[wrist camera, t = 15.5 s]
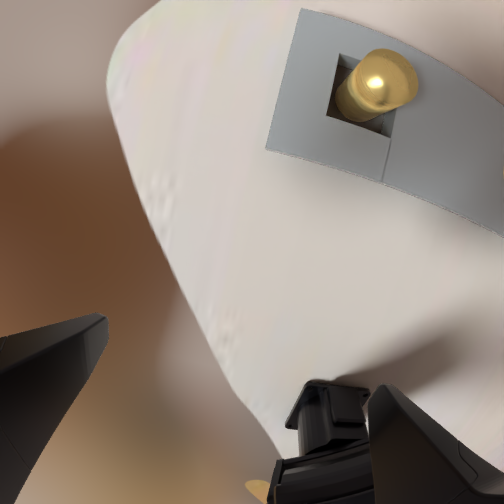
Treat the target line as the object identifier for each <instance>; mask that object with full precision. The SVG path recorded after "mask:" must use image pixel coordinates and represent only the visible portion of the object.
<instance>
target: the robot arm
mask: <svg viewBox="0 0 504 504" xmlns="http://www.w3.org/2000/svg"><path fill="white" fill-rule="evenodd" d="M108 329H109V327H108V318H107V317H106V316H104V315H102V314H99V313H93V314H89V315H85V316H82V317H78V318H74V319H70V320H67V321H63V322H59V323H56V324H52V325H48V326H44V327H40V328H36V329H32V330H29V331H25V332H21V333H17V334H13V335H9V336H8V337H6V336H5V337H1V338H0V504H14V503H15V501H16V499H17V497H18V495H19V493H20V491H21V489H22V487H23V485H24V484H25V482H26V480H27V478H28V476H29V474H30V473H31V470H32V469H33V467H34V465H35V463H36V462H37V460H38V458H39V456H40V455H41V453H42V451H43V449H44V448H45V446H46V445H47V443H48V441H49V440H50V438H51V436H52V434H53V433H54V431H55V430H56V428H57V427H58V425H59V423H60V422H61V420H62V418H63V417H64V415H65V414H66V412H67V411H68V409H69V408H70V406H71V405H72V403H73V401H74V400H75V399H76V397H77V395H78V394H79V392H80V391H81V389H82V388H83V386H84V385H85V384H86V382H87V380H88V379H89V377H90V375H91V373H92V372H93V370H94V368H95V366H96V364H97V362H98V360H99V358H100V356H101V354H102V352H103V350H104V349H105V347H106V345H107V343H108V339H109V332H108V331H109V330H108ZM309 387H312V388H309ZM365 393H366V394H365ZM370 394H371V393H370V390H369V389H365V388H354V387H344V386H336V385H327V384H320V383H313V382H309V383H306V384H305V385H304V387H303V389H302V391H301V393H300V395H299V397H298V399H297V401H296V403H295V405H294V407H293V409H292V411H291V413H290V415H289V416H288V418H287V420H286V422H285V427H286V428H287V429H294V430H298V441H299V457H295V458H290V459H285V460H284V459H280V460H277V462H276V466H275V468H274V472H273V476H272V480H271V484H270V488H269V492H268V496H267V504H504V473H503V472H501V471H500V470H498V469H497V468H495V467H494V466H492V465H491V464H490V463H488V462H487V461H485V460H484V459H482V458H481V457H479V456H478V455H477V454H475V453H474V452H473V451H471V450H470V449H469V448H468V447H466V446H465V445H464V444H463V443H461V442H460V441H459V440H458V441H457V439H456V438H455V437H454V436H453V435H452V434H450V433H449V432H448V431H447V430H446V429H444V428H443V427H442V426H441V425H440V424H438V423H437V422H436V421H435V420H434V419H432V418H431V417H430V416H429V415H428V414H426V413H425V412H424V411H423V410H422V409H421V408H419V407H418V406H417V405H416V404H415V403H413V402H412V401H411V400H410V399H409V398H407V397H406V396H405V395H404V394H403V393H402V392H400V391H399V390H398V389H397V388H396V387H394V386H393V385H392V384H384V383H382V384H380V385H379V386H378V387H377V389H376V391H375V392H374V394H373V395H372V397H371V398H370V400H369V402H368V427H369V434H368V431H367V427H366V424H365V422H366V418H365V415H364V411H363V408H362V407H363V405H364V404H365V402H366V401H367V399H368V398H369V396H370Z"/></svg>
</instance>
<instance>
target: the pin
mask: <svg viewBox="0 0 504 504" xmlns="http://www.w3.org/2000/svg"><path fill="white" fill-rule="evenodd" d="M417 91H418V78H417V75H416V72H415V70H414V68H413V67H412V65H411V64H410V63H409V61H408V60H407V59H406V58H405V57H403V56H402V55H401V54H399V53H397V52H395V51H393V50H390V49H384V48H380V49H375V50H373V51H371V52H369V53H368V54H367V55H366V56H365V57H364V58H363V60H362V61H361V62H360V63H359V64H358V65H357V66H356V68H355V69H354V70H353V71H352V72H351V73H350V74H349V76H348V77H347V78H346V79H345V80H344V81H343V82H342V84H341V85H340V86H339V87H338V89H337V91H336V94H335V101H336V105H337V107H338V109H339V111H340V112H341V113H342V114H343V115H344V116H345V117H346V118H348V119H350V120H352V121H355V122H365V121H368V120H370V119H372V118H374V117H376V116H379V115H381V114H383V113H385V112H388V111H390V110H392V109H394V108H397V107H399V106H401V105H404V104H406V103H408V102H410V101H411V100H412V99H413V98H414V97H415V96H416V94H417Z"/></svg>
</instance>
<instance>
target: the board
mask: <svg viewBox="0 0 504 504" xmlns="http://www.w3.org/2000/svg"><path fill="white" fill-rule="evenodd" d="M380 48H384V49H390V50H393V51H395V52H397V53H399V54H401V55H402V56H403V57H405V58H406V59H407V60H408V61H409V63H410V64H411V65H412V67H413V68H414V70H415V72H416V75H417V78H418V91H417V94H416V96H415V97H414V98H413V99H412V100H411V101H410V102H408V103H406V104H404V105H401V106H399V107H397V108H394V109H392V110H390V111H388V112H385V116H384V121H383V126H382V131H381V134H378V133H375V132H373V131H370V130H367V129H365V128H362V127H359V126H356V125H353V124H350V123H347V122H344V121H341V120H338V119H335V118H332V117H329V116H326V113H327V109H328V104H329V100H330V95H331V91H332V86H333V82H334V77H335V72H336V68H337V65H340V66H343V67H346V68H349V69H352V70H354V69H355V68H356V66H357V65H358V64H359V63H360V62H361V61H362V60H363V58H364V57H365V56H366V55H367V54H368V53H369V52H371V51H373V50H375V49H380ZM265 148H266V150H269V151H273V152H277V153H281V154H285V155H289V156H293V157H296V158H300V159H304V160H307V161H311V162H315V163H318V164H321V165H325V166H328V167H332V168H335V169H338V170H341V171H345V172H348V173H351V174H354V175H357V176H360V177H363V178H366V179H369V180H372V181H375V182H377V183H380V184H383V185H386V186H389V187H391V188H394V189H397V190H399V191H402V192H405V193H407V194H410V195H412V196H415V197H417V198H420V199H422V200H425V201H427V202H429V203H432V204H434V205H436V206H439V207H441V208H443V209H446V210H448V211H450V212H452V213H455V214H457V215H459V216H461V217H463V218H465V219H468V220H470V221H472V222H474V223H476V224H478V225H480V226H482V227H484V228H486V229H488V230H490V231H492V232H494V233H496V234H497V235H499V236H501V237H503V238H504V106H503V105H502V104H501V103H500V102H498V101H497V100H496V99H494V98H493V97H492V96H491V95H489V94H488V93H487V92H485V91H484V90H482V89H481V88H480V87H478V86H477V85H475V84H474V83H473V82H471V81H470V80H468V79H467V78H465V77H464V76H462V75H461V74H459V73H457V72H456V71H454V70H453V69H451V68H449V67H448V66H446V65H444V64H443V63H441V62H439V61H437V60H436V59H434V58H432V57H430V56H428V55H426V54H425V53H423V52H421V51H419V50H417V49H415V48H413V47H411V46H409V45H407V44H405V43H402V42H400V41H398V40H396V39H394V38H391V37H389V36H387V35H384V34H382V33H379V32H377V31H374V30H372V29H369V28H367V27H364V26H361V25H358V24H355V23H353V22H350V21H347V20H343V19H340V18H337V17H334V16H330V15H327V14H323V13H319V12H316V11H312V10H308V9H303V8H301V9H300V13H299V17H298V21H297V25H296V28H295V32H294V36H293V40H292V44H291V48H290V52H289V55H288V59H287V63H286V67H285V71H284V75H283V79H282V83H281V87H280V91H279V95H278V99H277V103H276V107H275V111H274V115H273V119H272V123H271V127H270V131H269V135H268V139H267V143H266V147H265Z"/></svg>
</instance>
